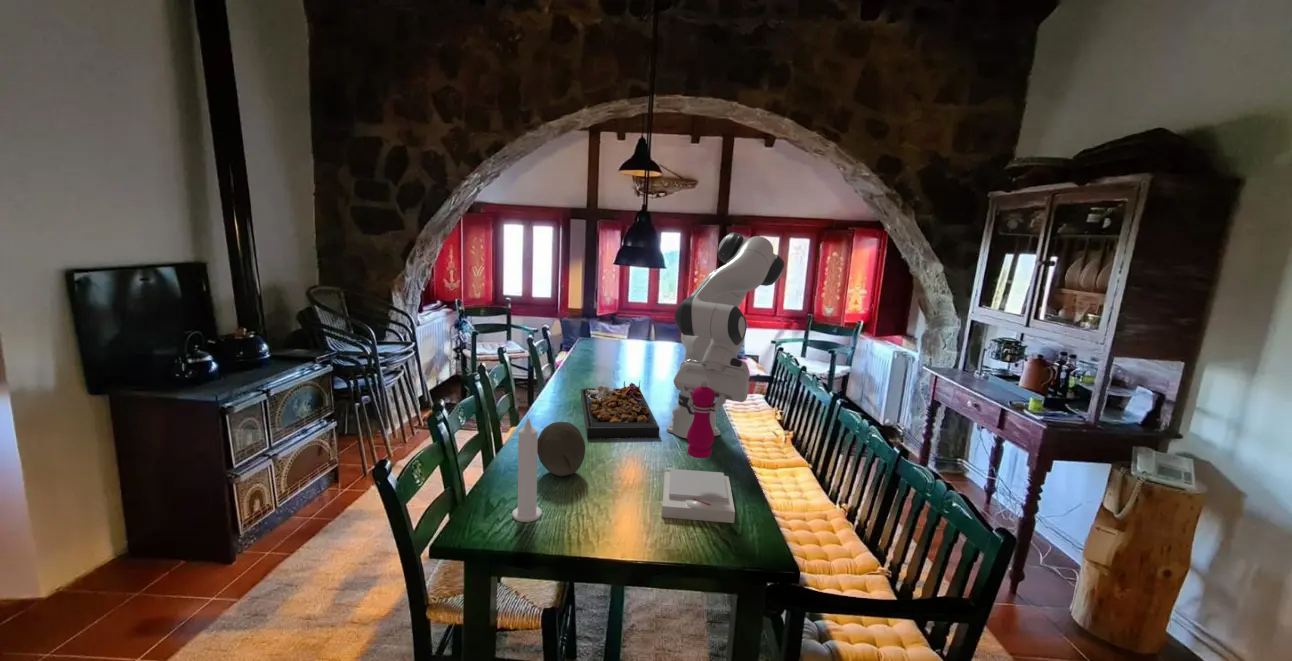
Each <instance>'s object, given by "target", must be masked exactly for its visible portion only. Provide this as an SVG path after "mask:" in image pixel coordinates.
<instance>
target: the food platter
mask: <svg viewBox="0 0 1292 661" xmlns="http://www.w3.org/2000/svg"><path fill="white" fill-rule="evenodd" d="M580 401H581V406H582V415H583V414H584V415H583V421H584V427H585V433H586V434H587V435H586V440H597V439H596V438H599V439H598V440H607V438H608V439H609V438H622V439H660V426H659V424H658V422H657V421H656V418H655V416H654V415H653V412H652V411H651V409H650V406H649V404H648V403H647V400H646V398H645V396H644V395H643V392H642V391H641V381H639V382H638V385H636V384H635V383H633V382H630V383H629V386H627V385H626V381H625V380H624V381H623V387H620V388H615V387H612V388H610V387H607V385H598V386H597V387H596V388H592V387H590V388H589V387H588V388H581V390H580ZM600 438H602V439H600ZM603 438H604V439H603Z"/></svg>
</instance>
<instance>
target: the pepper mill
mask: <svg viewBox="0 0 1292 661" xmlns="http://www.w3.org/2000/svg"><path fill="white" fill-rule="evenodd" d="M707 385H708V384H707V382H706V381H703V382H701V386H700V387H697V388H696V389H694V391H693V393H692V400H693V402H694V404H693V406H694V407H693V410H694V420H693V423H692V425H691V427H690V428H689V430H688V433H687V439H686V441H687V443H688V447H687V454H688V455H689V456H690V457H693V458H697V459H707V458H710V457H711V456H712V447H711V446H712V445H713V444H714V442H715V436H714V433H713V430H712V427H711V423H710V412H711V411H712V410H711V406H712V405H711V404H712V403H715V400H716V397H715V394H714V391H713V390H712V389H711V388H709V387H707Z"/></svg>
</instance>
